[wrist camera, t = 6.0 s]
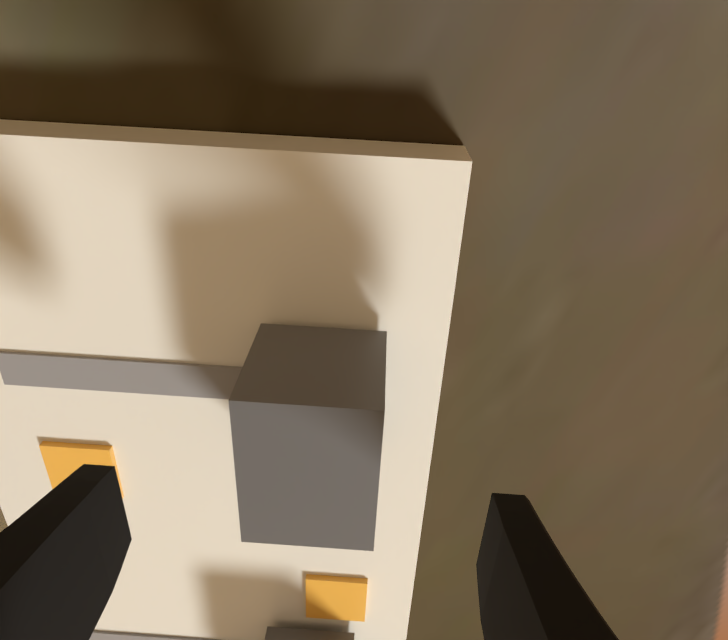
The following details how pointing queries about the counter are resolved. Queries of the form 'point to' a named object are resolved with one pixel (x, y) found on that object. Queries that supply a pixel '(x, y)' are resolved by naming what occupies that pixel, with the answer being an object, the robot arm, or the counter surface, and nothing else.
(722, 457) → the counter surface
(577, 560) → the counter surface
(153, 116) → the counter surface
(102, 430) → the switch console
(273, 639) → the switch
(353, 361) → the switch
